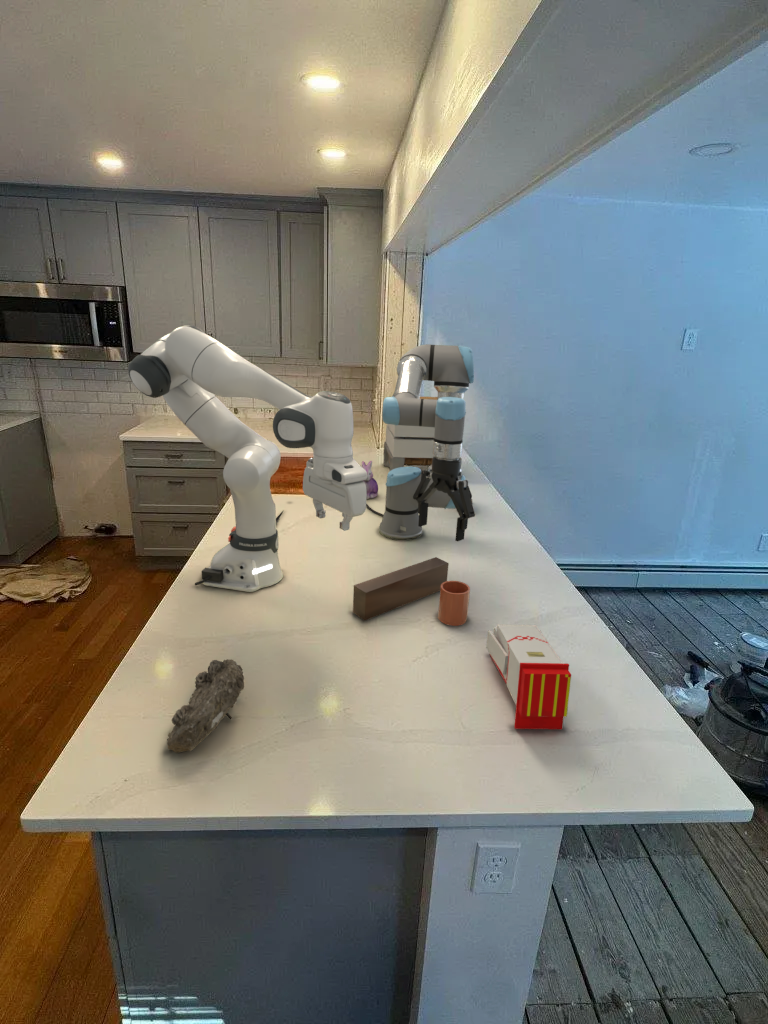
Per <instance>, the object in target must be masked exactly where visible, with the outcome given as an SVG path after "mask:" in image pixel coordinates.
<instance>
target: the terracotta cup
mask: <svg viewBox="0 0 768 1024" xmlns="http://www.w3.org/2000/svg"><path fill="white" fill-rule="evenodd" d="M470 594H471V587H470V586H469V585H468V584H467V583H465V582H463V581H459V580H447V581H446V582H443V583H442V584H441V587H440V591H439V599H438V609H437V610H438V612H437V619H438V621H439V622H441V623H442V624H445V625H446V626H452V627H456V626H457V627H459V626H462V625H464V624H466V623H467V620H468V613H469V606H470V605H469V604H470Z"/></svg>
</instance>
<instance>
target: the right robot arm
mask: <svg viewBox="0 0 768 1024" xmlns="http://www.w3.org/2000/svg"><path fill="white" fill-rule="evenodd" d="M474 363H475V361H474V352H473V349H472V348H471V347H469V346H464V345H451V344H450V345H449V344H430V343H429V344H421V345H420V344H419V345H417V346H415V347H413V348H411V349H409V350H408V351H406V352H405V353H404V354H403V355H402V356H401V357H400V358H399V360H398V363H397V366H396V374H397V379H396V383H395V388H394V392H393V394H394V395H393V394H392V395H391V396H386V397H384V399H383V402H382V411H381V412H382V413H381V414H382V415H381V416H382V422H383V424H386V425H387V424H392V425H405V426H422V427H435V433H434V445H433V458H432V465H430V466H429V465H428V466H427V469H425V470H423V472H422V469H421V468H420V467H419V466H418V467H417V466H404V467H399V468H395V469H393V470H391V471H390V470H389V471H388V473H387V475H386V482H385V487H386V488H385V489H386V490H385V504H384V505H385V507H384V508H385V509H384V513H381V512H378V511H376V510H375V509H374V508H372V507H370V506H369V504H368V503H366V508H367V509H368V510H369V511H371V512H372V513H374V514H376V515H379V516H381V517H382V519H381V522H379V526H378V533H379V534H380V535H381V536H382V537H385V538H387V539H389V540H395V541H410V540H415V539H418V538H420V537H421V536H422V535H423V526H427V525H428V515H429V513H428V512H429V508H435V509H444V510H447V509H452V510H453V509H456V511H457V513H458V516H459V517H457V519H456V528H455V529H456V530H455V539H454V540H455V542H460V541H463V540H465V533H466V530H467V529H468V524H469V519H471V518H474V517H475V516H476V513H475V509H474V505H473V500H472V501H471V498H470V494H469V490H468V486H469V481H468V480H467V479H466V476H465V475H463V474H462V472H463V471H462V468H461V469H460V465H461V466H462V462H461V460H460V459H459V458H460V457H461V458H462V454H463V443H462V441H463V442H464V440H463V439H464V432H463V430H464V429H465V421H466V420H465V419H466V414H467V409H466V406H467V405H466V404H467V403H466V400H465V399H464V394H465V393H466V392H467V391H468V390H469V389H470V384H473V383H475V364H474ZM423 381H428V382H433V388H434V389H435V391H436V392H437V397H438V398H437V400H433V399H419V397H421V392H422V391H421V389H422V384H423ZM464 431H465V430H464Z"/></svg>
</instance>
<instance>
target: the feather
mask: <svg viewBox="0 0 768 1024" xmlns="http://www.w3.org/2000/svg"><path fill="white" fill-rule="evenodd" d="M283 512H284V509H282V511H281V512H280V513H279V514H278V516H276V524H277V523H278V522H279V520H280V518H281V516H282V514H283Z"/></svg>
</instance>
